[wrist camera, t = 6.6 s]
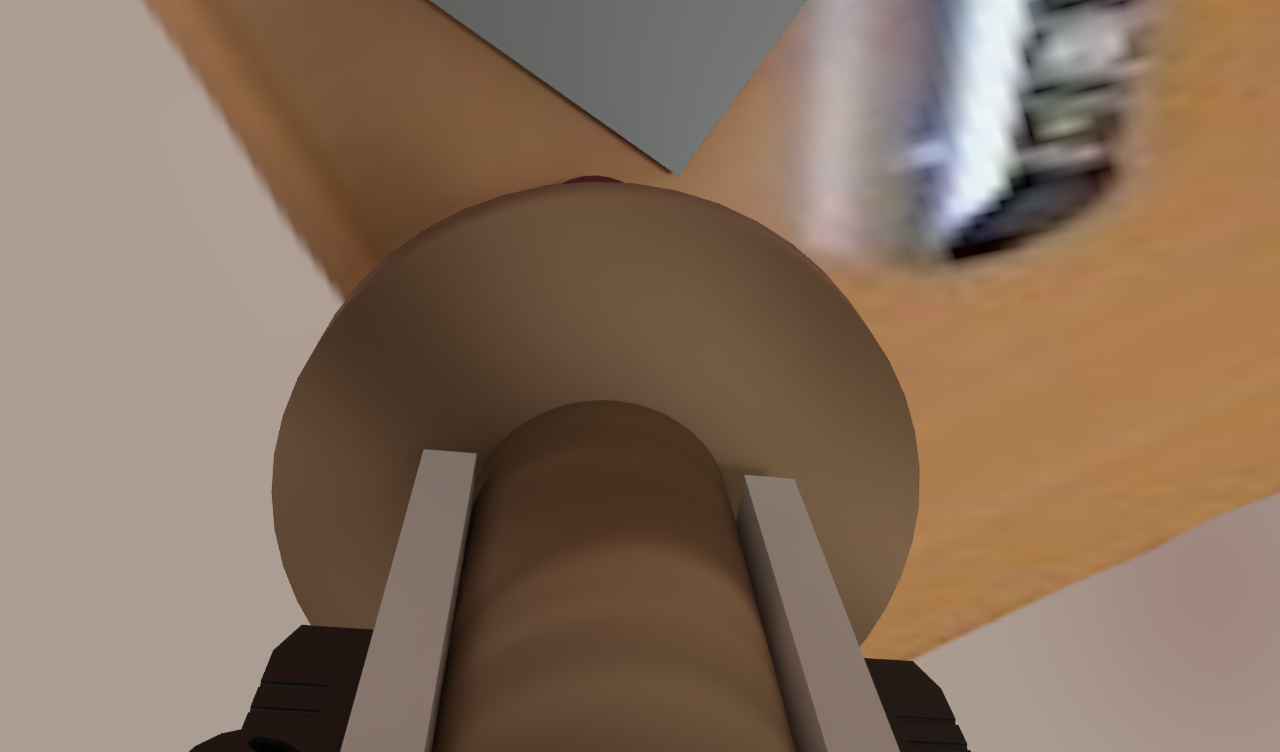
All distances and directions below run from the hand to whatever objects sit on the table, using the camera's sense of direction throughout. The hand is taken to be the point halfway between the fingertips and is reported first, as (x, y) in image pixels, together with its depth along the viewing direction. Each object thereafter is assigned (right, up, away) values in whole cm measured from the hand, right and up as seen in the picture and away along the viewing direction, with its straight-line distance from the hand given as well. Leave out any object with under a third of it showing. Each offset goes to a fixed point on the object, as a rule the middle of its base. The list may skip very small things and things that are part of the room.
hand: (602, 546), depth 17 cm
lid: (0, +1, +2) cm, 2 cm away
